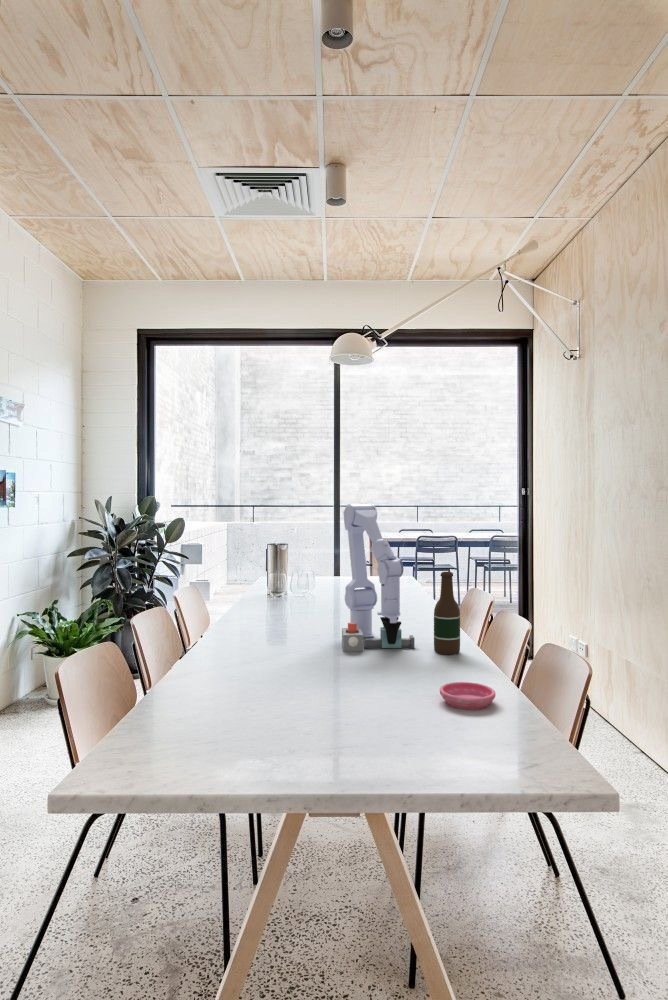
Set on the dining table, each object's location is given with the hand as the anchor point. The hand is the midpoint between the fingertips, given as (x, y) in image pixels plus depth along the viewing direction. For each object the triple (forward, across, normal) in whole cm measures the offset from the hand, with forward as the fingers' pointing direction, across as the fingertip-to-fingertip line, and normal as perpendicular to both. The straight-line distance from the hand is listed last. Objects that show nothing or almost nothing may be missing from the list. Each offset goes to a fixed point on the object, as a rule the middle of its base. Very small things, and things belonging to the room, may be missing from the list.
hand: (390, 641), depth 198 cm
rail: (+2, 0, 0) cm, 2 cm away
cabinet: (+2, 0, -12) cm, 12 cm away
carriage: (+2, 0, 0) cm, 2 cm away
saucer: (+2, +53, +11) cm, 54 cm away
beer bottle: (+2, +7, +16) cm, 18 cm away
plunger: (-2, 0, -12) cm, 12 cm away
